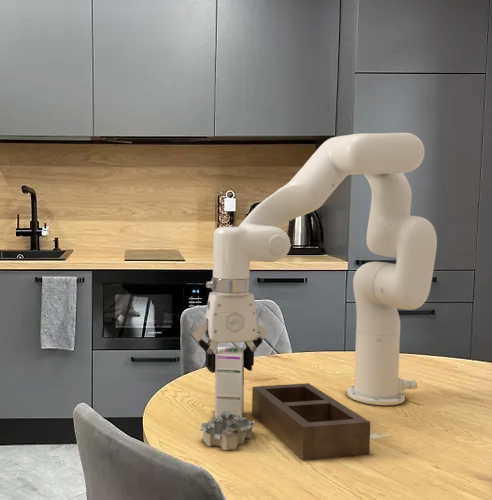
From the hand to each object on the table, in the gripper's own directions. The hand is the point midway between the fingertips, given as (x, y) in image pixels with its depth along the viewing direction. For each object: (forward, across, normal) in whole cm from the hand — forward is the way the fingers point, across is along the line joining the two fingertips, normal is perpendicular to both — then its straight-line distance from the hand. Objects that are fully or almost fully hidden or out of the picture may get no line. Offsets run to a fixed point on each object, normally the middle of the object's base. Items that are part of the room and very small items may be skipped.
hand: (229, 369), depth 129 cm
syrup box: (+10, 0, 0) cm, 10 cm away
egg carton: (+11, -4, -11) cm, 16 cm away
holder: (+10, +12, -11) cm, 19 cm away
